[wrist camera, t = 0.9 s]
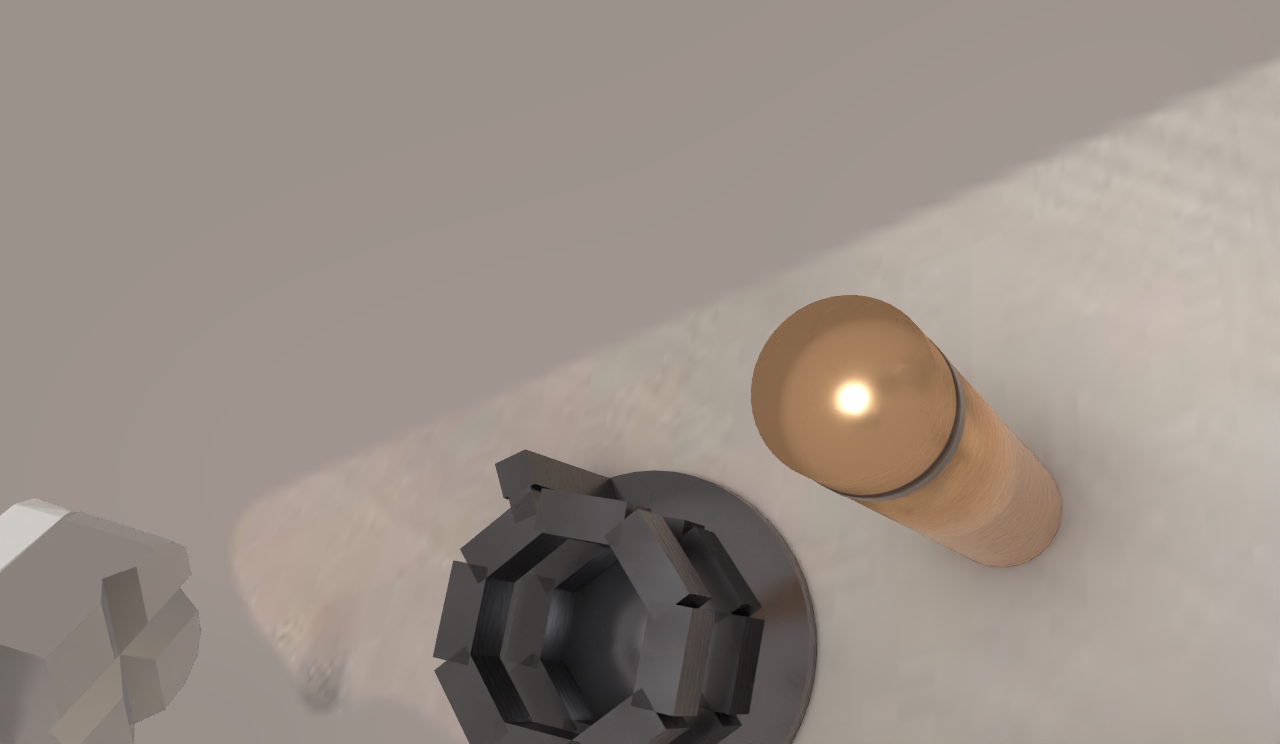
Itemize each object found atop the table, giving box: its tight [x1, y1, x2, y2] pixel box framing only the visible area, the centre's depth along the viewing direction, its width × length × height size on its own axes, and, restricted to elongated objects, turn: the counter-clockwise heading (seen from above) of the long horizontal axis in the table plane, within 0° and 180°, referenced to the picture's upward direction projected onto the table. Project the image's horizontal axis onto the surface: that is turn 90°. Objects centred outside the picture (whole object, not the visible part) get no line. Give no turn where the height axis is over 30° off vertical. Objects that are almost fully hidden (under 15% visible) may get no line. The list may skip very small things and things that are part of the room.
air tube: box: [751, 295, 1062, 567], centre depth 37 cm, size 4×4×20 cm
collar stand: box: [433, 450, 817, 744], centre depth 47 cm, size 14×14×8 cm
